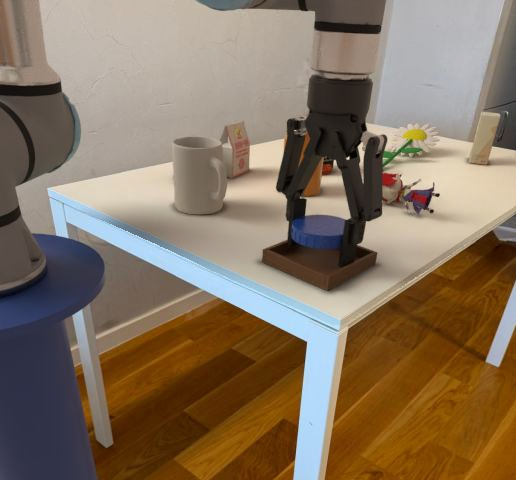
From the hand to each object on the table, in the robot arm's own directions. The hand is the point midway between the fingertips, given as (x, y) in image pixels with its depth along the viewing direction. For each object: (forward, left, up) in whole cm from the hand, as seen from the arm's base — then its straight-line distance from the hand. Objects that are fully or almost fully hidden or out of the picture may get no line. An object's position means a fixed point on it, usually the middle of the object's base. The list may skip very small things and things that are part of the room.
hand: (319, 253), depth 72 cm
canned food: (-30, +39, -2) cm, 49 cm away
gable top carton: (-40, +23, -2) cm, 46 cm away
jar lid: (0, 0, +4) cm, 4 cm away
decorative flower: (-23, +64, -2) cm, 68 cm away
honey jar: (-23, +25, -2) cm, 34 cm away
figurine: (-4, +32, -2) cm, 32 cm away
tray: (0, 0, -2) cm, 2 cm away
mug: (-27, +3, -2) cm, 28 cm away
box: (-9, +78, -2) cm, 78 cm away
